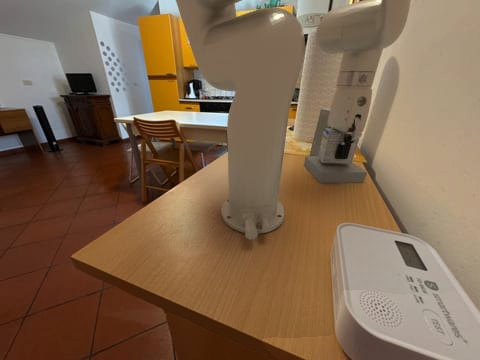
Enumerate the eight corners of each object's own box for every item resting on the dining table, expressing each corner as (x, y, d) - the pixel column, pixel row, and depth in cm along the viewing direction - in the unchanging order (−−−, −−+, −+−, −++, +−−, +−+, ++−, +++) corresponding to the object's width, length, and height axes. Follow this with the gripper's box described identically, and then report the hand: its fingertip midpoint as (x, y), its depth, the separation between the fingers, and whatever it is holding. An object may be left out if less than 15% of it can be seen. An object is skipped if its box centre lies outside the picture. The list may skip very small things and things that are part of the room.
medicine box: (345, 159, 56) (353, 128, 52) (351, 164, 52) (361, 132, 48) (317, 157, 57) (323, 127, 53) (321, 163, 53) (329, 131, 49)
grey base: (363, 182, 51) (367, 172, 50) (319, 183, 51) (321, 172, 49) (340, 164, 62) (343, 155, 60) (303, 164, 61) (305, 156, 60)
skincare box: (309, 155, 69) (317, 108, 62) (319, 151, 73) (329, 106, 66) (331, 162, 63) (344, 111, 56) (341, 157, 68) (354, 109, 60)
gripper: (398, 82, 38) (368, 167, 46) (349, 81, 53) (333, 145, 61) (360, 81, 37) (337, 167, 46) (323, 80, 52) (310, 145, 61)
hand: (335, 154), depth 53 cm, fingers open, 5 cm apart
